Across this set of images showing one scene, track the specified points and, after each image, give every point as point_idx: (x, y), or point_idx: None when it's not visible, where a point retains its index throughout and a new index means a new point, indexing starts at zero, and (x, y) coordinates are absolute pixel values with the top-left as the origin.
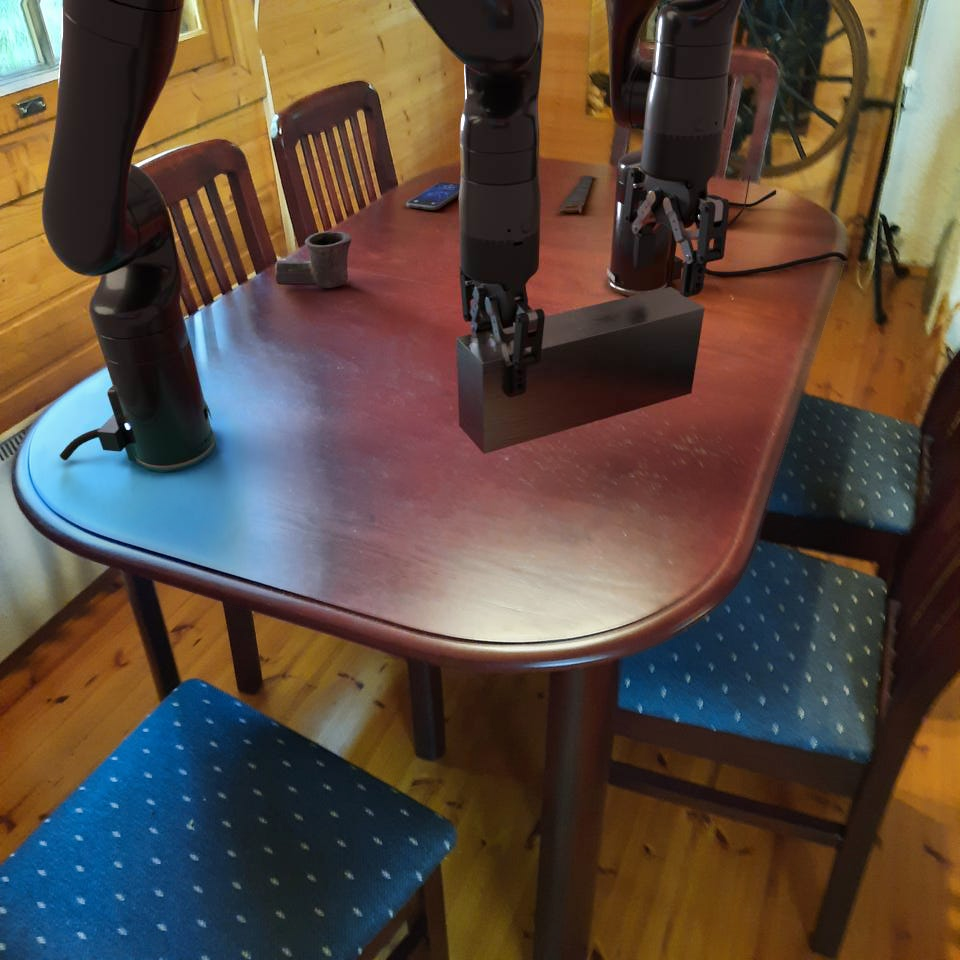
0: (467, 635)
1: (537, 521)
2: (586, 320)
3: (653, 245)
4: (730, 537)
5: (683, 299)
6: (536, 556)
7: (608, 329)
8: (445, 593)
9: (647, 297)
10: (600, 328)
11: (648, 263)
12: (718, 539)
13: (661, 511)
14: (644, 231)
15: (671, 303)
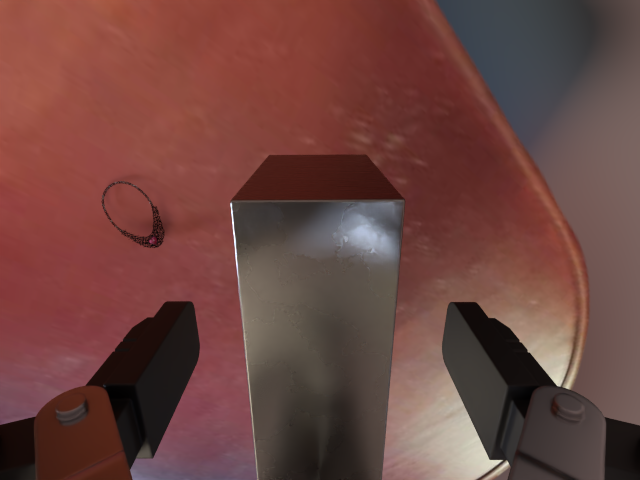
0: (489, 467)
1: (402, 375)
2: (316, 463)
3: (162, 353)
4: (550, 224)
5: (328, 223)
6: (445, 396)
7: (375, 448)
8: (439, 464)
9: (269, 300)
10: (362, 457)
11: (189, 319)
12: (543, 238)
13: (465, 264)
14: (129, 453)
15: (335, 268)
